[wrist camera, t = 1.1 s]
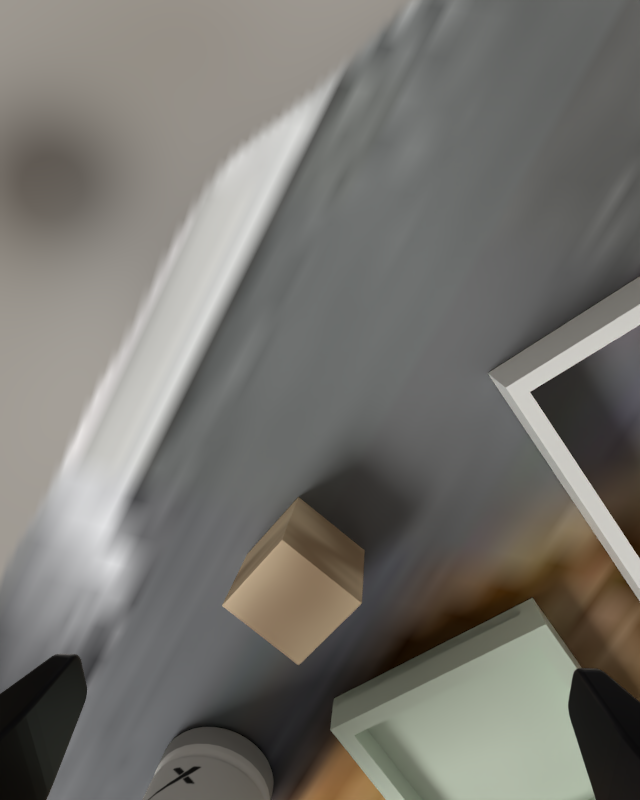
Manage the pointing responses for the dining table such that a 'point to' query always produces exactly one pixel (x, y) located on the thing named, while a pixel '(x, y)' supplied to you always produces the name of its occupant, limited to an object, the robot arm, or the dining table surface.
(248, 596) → the oak cube
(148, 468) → the dining table surface
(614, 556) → the open rectangular frame
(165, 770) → the travel mug
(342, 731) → the dish
